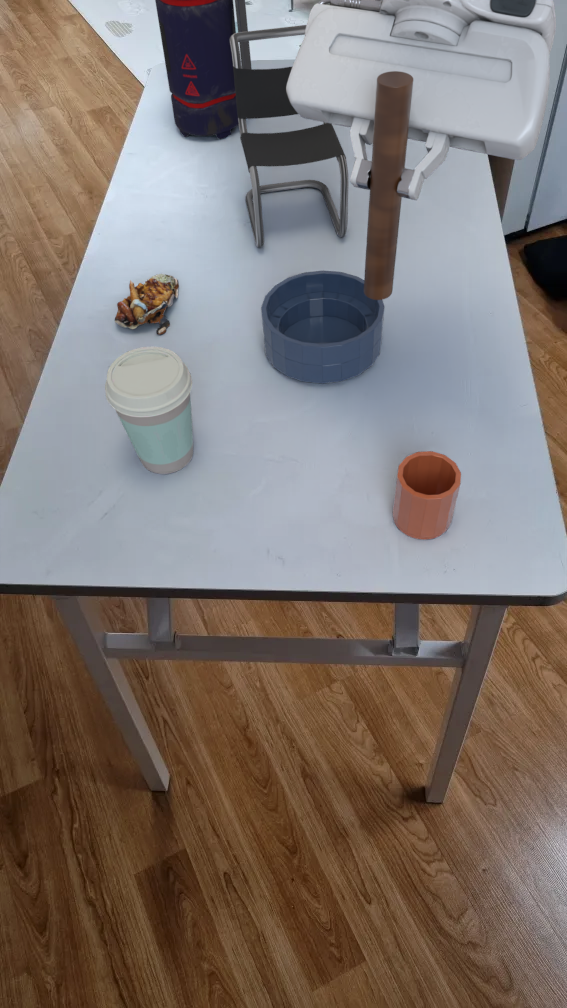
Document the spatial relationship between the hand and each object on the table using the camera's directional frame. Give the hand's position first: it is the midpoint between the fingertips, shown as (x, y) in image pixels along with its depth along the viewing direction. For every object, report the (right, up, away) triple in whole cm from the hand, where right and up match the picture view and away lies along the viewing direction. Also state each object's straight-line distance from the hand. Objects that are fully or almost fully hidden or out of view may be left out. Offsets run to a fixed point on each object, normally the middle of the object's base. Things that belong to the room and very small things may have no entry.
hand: (383, 191), depth 57 cm
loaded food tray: (-26, +1, +38) cm, 46 cm away
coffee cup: (-21, -20, +22) cm, 36 cm away
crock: (+6, -26, +15) cm, 31 cm away
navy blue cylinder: (-20, +41, +68) cm, 82 cm away
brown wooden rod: (+1, -6, +8) cm, 10 cm away
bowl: (-3, -6, +31) cm, 32 cm away
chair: (-7, +17, +49) cm, 53 cm away
